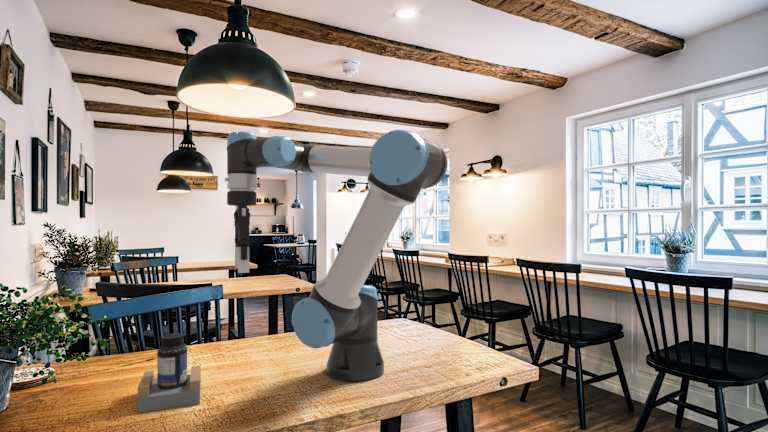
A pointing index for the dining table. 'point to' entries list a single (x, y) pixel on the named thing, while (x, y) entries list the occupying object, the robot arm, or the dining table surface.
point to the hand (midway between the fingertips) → (241, 270)
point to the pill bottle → (172, 361)
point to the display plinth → (168, 392)
